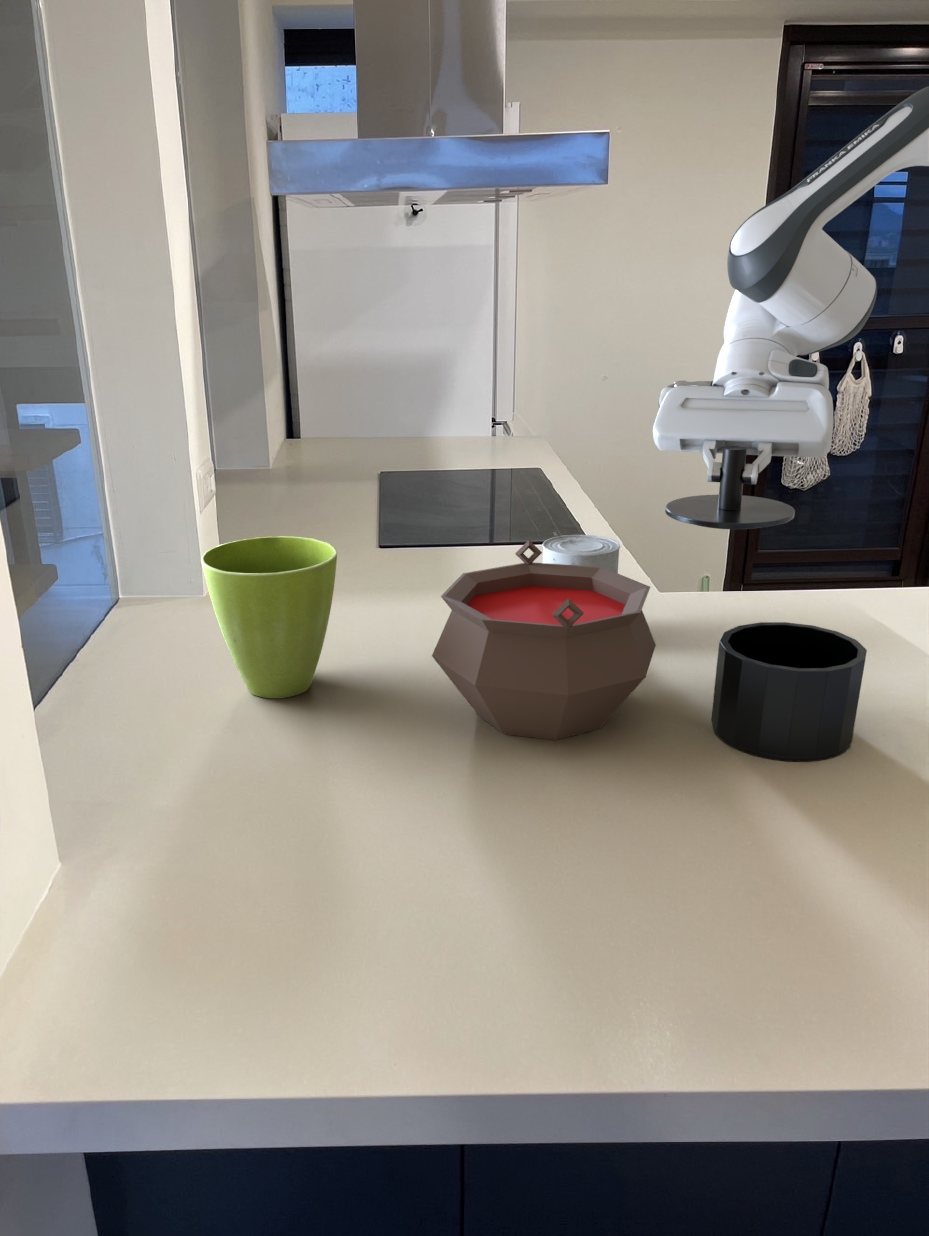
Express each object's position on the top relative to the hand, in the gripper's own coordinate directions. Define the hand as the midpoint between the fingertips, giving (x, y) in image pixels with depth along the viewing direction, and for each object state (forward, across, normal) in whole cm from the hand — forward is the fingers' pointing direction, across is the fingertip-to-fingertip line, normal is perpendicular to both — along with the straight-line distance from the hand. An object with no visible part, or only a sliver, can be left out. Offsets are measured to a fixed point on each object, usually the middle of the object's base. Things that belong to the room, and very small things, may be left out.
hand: (731, 480), depth 117 cm
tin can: (+16, -17, +14) cm, 27 cm away
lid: (+2, 0, +3) cm, 4 cm away
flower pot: (+36, -45, -6) cm, 58 cm away
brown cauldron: (+33, -14, -3) cm, 36 cm away
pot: (+30, +10, 0) cm, 31 cm away
